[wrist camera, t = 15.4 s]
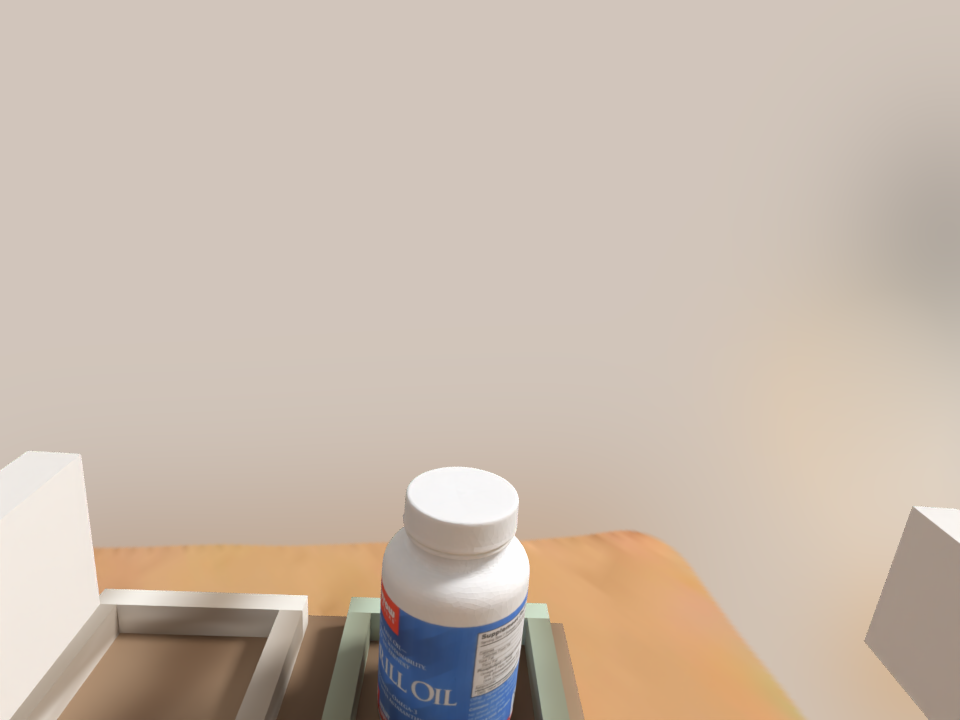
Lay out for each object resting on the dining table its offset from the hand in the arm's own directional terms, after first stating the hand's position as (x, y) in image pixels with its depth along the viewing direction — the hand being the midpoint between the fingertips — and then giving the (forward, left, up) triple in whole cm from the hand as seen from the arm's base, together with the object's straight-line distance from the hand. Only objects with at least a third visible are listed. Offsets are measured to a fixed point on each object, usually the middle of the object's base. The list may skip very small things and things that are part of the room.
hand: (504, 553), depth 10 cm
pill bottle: (0, +11, -15) cm, 19 cm away
